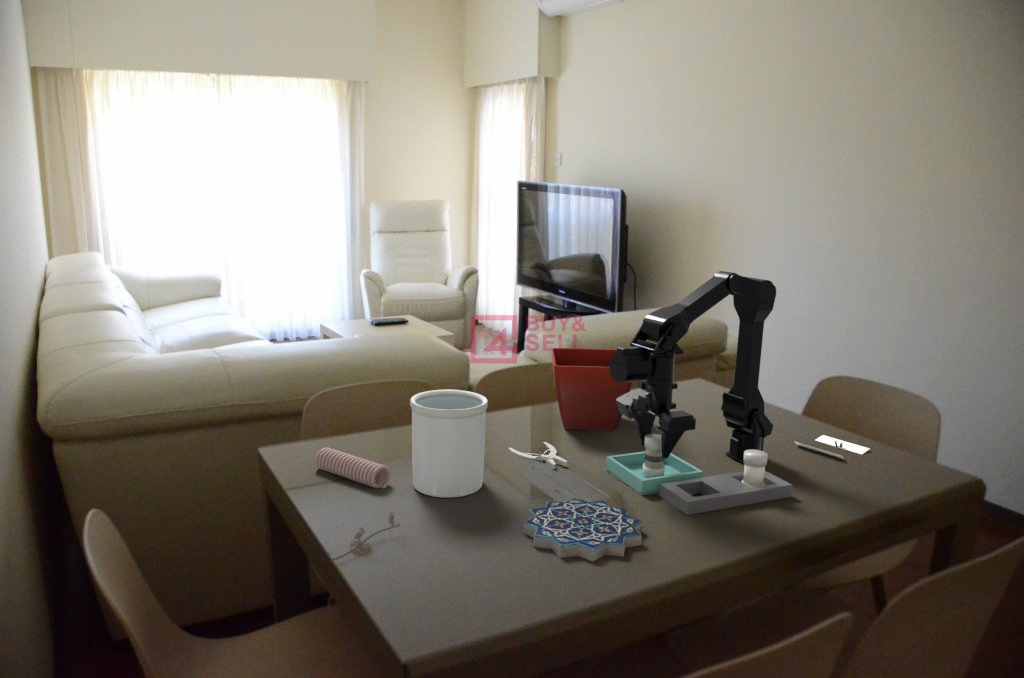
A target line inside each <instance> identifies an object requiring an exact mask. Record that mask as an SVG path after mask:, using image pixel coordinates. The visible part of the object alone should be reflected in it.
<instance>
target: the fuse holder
mask: <svg viewBox="0 0 1024 678" xmlns="http://www.w3.org/2000/svg"><path fill="white" fill-rule="evenodd" d="M743 478H744V470H742V471H737V472H729V473H723V474H717V475H710V476H703V478H696V479H690V480H683V481H677V482H670V483H664V484H660V493H658V494H659V497H660V498H661V499H662V500H664V501H665V502H667V503H668V504H670V505H671V506H673V507H674V508H675V509H677V510H679V511H680V512H682V513H683V514H685V515H686V516H689V515H694V514H701V513H706V512H713V511H718V510H722V509H728V508H729V509H730V508H734V507H739V506H740V507H741V506H746V505H753V504H757V503H763V502H768V501H774V500H775V501H776V500H780V499H786V498H791V497H792V489H793V484H792V483H791V482H790V483H789V482H788V481H786V480H784V479H782V478H780V477H778V476H777V475H774V474H772V473H770V472H768V471H766V470H765V473H764V483H765V486H758V487H752V488H751V487H749V486H747V485H746V484H744V483H742V480H743ZM698 494H701V495H700V496H693V495H698Z"/></svg>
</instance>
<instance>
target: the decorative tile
mask: <svg viewBox="0 0 1024 678" xmlns="http://www.w3.org/2000/svg"><path fill="white" fill-rule="evenodd" d="M522 524H523V528H522V530H523V531H522V533H523V534H524V535H526V536H528V537H531V538H533V539H532V540H533V541H532V542H533V544H532V545H533V548H538V549H539V548H540V549H547V550H552V551H553V552H554V554H555V555H556V556H557V557H558V558H561V559H562V558H568V557H576V556H577V557H580V558H582V559H585V560H588V561H590V562H595V561H596V560H598V559H600V558H602V557H603V556H613V557H624V556H625V551H626V548H632V547H637V546H641V545H642V538H643V537H642V536H643V535H642V531H643V530H642V529H643V520H641V519H638V518H636V517H632V516H630V515H628V510H627V508H625V507H624V508H623V507H622V508H621V507H616V506H611V505H610V504H608V503H607V502H606V501H605V500H591V501H587V500H584V499H581V498H578V497H572V498H570V499H567V500H565V501H556V500H555V501H554V500H547V501H546V503H545V505H544V507H537V508H530V509H528V519H527V520H526V521H524V522H523V523H522Z"/></svg>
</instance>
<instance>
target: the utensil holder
mask: <svg viewBox="0 0 1024 678" xmlns="http://www.w3.org/2000/svg"><path fill="white" fill-rule="evenodd" d="M409 402H410V403H409V404H410V408H411V439H412V440H411V447H412V449H411V452H412V453H411V454H412V455H411V458H412V459H411V460H412V461H411V462H412V484H413V488H414V489H415V490H416V491H418V492H419V493H421V494H423V495H426V496H430V497H435V498H445V499H446V498H460V497H464V496H465V497H466V496H468V495H472V494H474V493H477V492H478V491H479V490H480V489H481V488H482V486H483V480H484V469H485V467H484V464H485V447H486V446H485V441H486V428H487V427H486V423H487V409H488V406H489V402H488V398H486V396H484V395H483V394H479V393H477V392H473V391H468V390H462V389H449V388H447V389H435V390H434V389H433V390H427V391H423V392H422V391H421V392H418V393H416V394H414V395H413V396H411V398H410V400H409Z"/></svg>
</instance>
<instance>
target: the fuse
mask: <svg viewBox="0 0 1024 678" xmlns="http://www.w3.org/2000/svg"><path fill="white" fill-rule="evenodd" d="M768 457H769V454H768V453H767V452H766V451H764V450H763V451H760V450H753V449H751V450H745V451H744V459H743V463H742V464H744V465H743V466H744V468H743V469H744V470H743V471H744V478H743V480H742V483H744V484H746V485H747V486H749V487H751V488H752V487H758V486H765V483H764V473H765V471H766V467H767V465H768Z"/></svg>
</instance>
